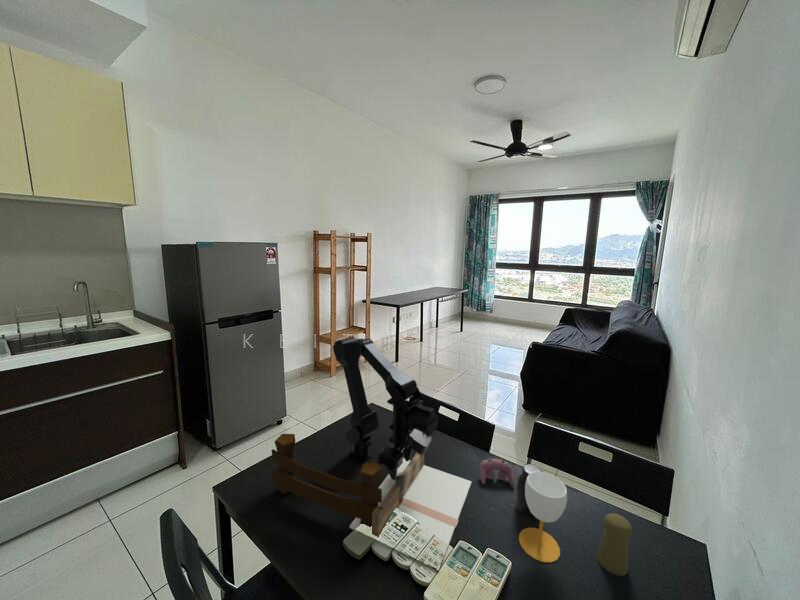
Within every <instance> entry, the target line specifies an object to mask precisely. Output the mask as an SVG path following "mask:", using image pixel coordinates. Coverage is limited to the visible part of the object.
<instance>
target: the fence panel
mask: <svg viewBox="0 0 800 600" xmlns="http://www.w3.org/2000/svg"><path fill="white" fill-rule="evenodd" d="M415 452H416V451H415ZM423 465H425V454H424V455H420V454H418V452H416V453H415V454H414V455H413V456H412V458H411V461H410V462H409V464H408V465H407V467H406V468H405V470H404V471H403V472H402V474H401V475H400V476H402V477H403V478H404V484H403V496H404V495H405V493H406V491H407V490H408V488H409V487H410V485H411V483H412V482H413V480H414V479H415V477H416V476H417V474H418V472H419V471H420V469H421V468H422V467H423Z"/></svg>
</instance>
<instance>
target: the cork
mask: <svg viewBox="0 0 800 600" xmlns="http://www.w3.org/2000/svg"><path fill="white" fill-rule="evenodd" d="M603 526H604V528H605V530H604V531H603V535H602V538H601V541H600V543H599V546H598V548H597V551H596V555H595V557H596V559H597V562H598V563H599V565H600V566H601V567H602V568H603V569H605V570H606V571H607V572H609V573H610V574H613V575H616V576H621V577H623V576H625V575H627V574H628V572H629V540H630V539H631V537H632V536H633V528H632V525H631V523H630V522H629V521H628V519H627V518H625V517H624V516H622V515H620V514H618V513H616V512H615V513H613V512H611V513H607V515H605V517H604V519H603Z"/></svg>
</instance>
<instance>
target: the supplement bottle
mask: <svg viewBox="0 0 800 600" xmlns="http://www.w3.org/2000/svg"><path fill="white" fill-rule="evenodd" d="M533 472H544V471H543V469H541V467H540V466H538V465H536V464H534V463H533V464H532V463H526V464H524V465H523V467H522V472H521V473H520V474H519V475H518V477H517V483H516V484H517V487H516V495H515V497H516V498H515V507H516V510H517V511H518V513H519V514H520V515H521V516H523V517H525V518H527V519H528V520H538V519H537V518H536V517H535V516H534V515H533V514H532V513H531V512H530V510H529V507H528V505H527V502H526V497H525V484H526V480H527V477H528V475H529V474H530V473H533Z"/></svg>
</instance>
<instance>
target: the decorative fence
mask: <svg viewBox="0 0 800 600" xmlns="http://www.w3.org/2000/svg"><path fill="white" fill-rule="evenodd" d="M274 444H275V448H276V450H275V449H273V448H272V449H271V458H272V459H271V460H272V462H274V463H276V464H277V465H278V468H277V467H275V466H273V467H272V470H271V471H272V473H271V482H273V483H274V484H276V485H277V487H276V490H277V491H279V492H280V493H282V494H283V495H286V494H287V493H289V492H290V493H292V494H293V495H295V496H298V497H300V498H303V499H306V500H307V501H309V502H312V503H315V504H317V505H320V506H322V507H325V508H327V509H330V510H332V511H334V512H337V513H340V514H344V515H348V516H351V517H354V518H360V519H361V522H360V524H365V525H367V526H369V527H371V526H372V512H373V511H374V509H375V508H376V507H378V502H380V503H381V501H382V489H380V488H379V486H380V482H381V481H380V480H381V477H382V473H383V470H384V469H383V467H382V466H381V464H380V463H378V461H369V462H365V463H364V462H362V464H361V466H360V467H361V468H360V470H359V475H360V480H361V483H360V482H356V481H351V480H348V479H343V478H339V477H338V476H335V475H331V474H330V473H327V472H324V471H321V470H318V469H316V468H312V467H309V466H307V465H303V464H301V463H299V462H297V461H296V460H294V458H293V453H294V451H295V445H296V435H295V433H281V434H280V435H279V436H278V437H277V438H276V439H275V440H274ZM294 474H295V475H296V476H298V477H300V478H303V479H306V480H308V481H311V482H314V483H316V484H318V485H321V486H324V487H326V488H329V489H331V490H334V491H337V492H339V493H343V494H346V495H351V496H353V497H358V498H362V500H361V501H360V500H357V499H354V498H351V497H346V496H342V495H338V494H337V493H333V492H331V491H329V490H326V489H323V488H321V487H319V486H316V485H314V484H311V483H308V482H305V481H302V480H300V479H298V478H297V477H295V476H294ZM378 508H380V509H382V510H383V508H382V507H378Z"/></svg>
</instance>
